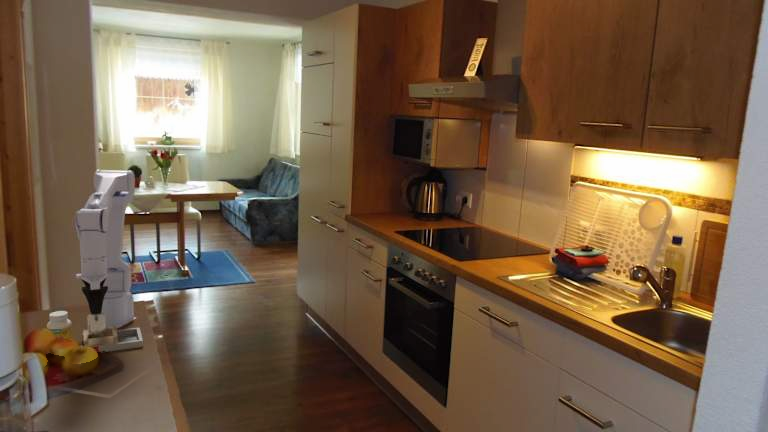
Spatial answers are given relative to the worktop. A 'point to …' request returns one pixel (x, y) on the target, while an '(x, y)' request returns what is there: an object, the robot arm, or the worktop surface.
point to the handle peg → (96, 325)
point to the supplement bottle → (60, 324)
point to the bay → (124, 340)
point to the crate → (109, 339)
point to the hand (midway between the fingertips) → (95, 308)
